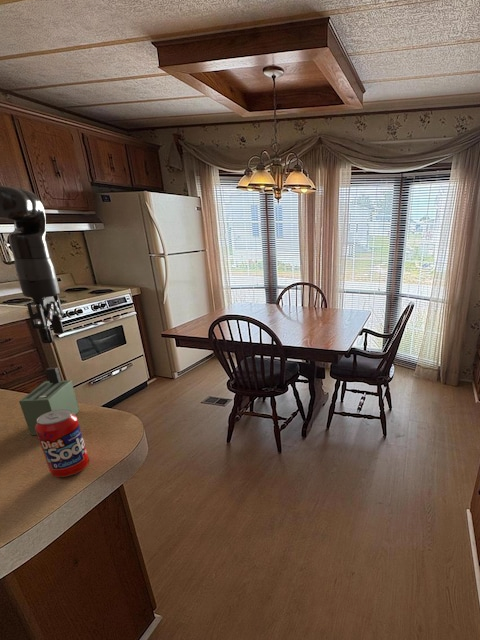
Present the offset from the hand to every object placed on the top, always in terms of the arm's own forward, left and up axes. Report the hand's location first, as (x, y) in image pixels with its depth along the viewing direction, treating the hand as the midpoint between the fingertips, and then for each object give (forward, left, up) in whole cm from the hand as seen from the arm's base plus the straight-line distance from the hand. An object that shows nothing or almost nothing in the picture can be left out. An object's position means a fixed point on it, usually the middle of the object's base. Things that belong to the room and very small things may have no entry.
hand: (53, 337), depth 92 cm
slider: (-5, +7, -16) cm, 18 cm away
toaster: (-6, +2, -27) cm, 28 cm away
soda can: (+3, -23, -27) cm, 36 cm away
